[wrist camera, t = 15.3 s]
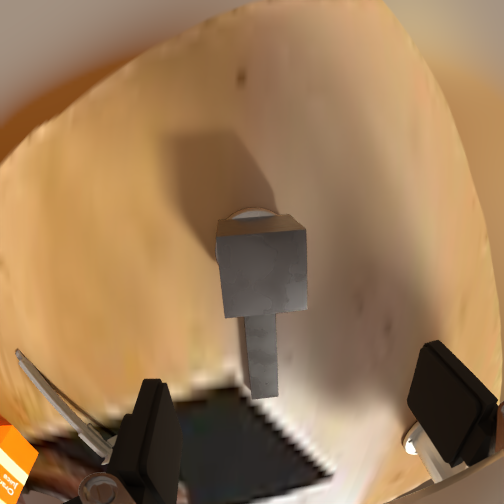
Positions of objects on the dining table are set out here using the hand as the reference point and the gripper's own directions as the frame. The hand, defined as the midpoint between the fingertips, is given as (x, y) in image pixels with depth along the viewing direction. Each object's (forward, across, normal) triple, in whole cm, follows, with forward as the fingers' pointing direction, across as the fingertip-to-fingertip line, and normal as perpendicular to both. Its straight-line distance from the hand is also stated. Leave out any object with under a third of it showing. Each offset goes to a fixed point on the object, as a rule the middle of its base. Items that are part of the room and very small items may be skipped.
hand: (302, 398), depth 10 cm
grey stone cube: (+18, 0, 0) cm, 18 cm away
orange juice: (+20, +47, +33) cm, 61 cm away
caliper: (+21, +26, +20) cm, 39 cm away
